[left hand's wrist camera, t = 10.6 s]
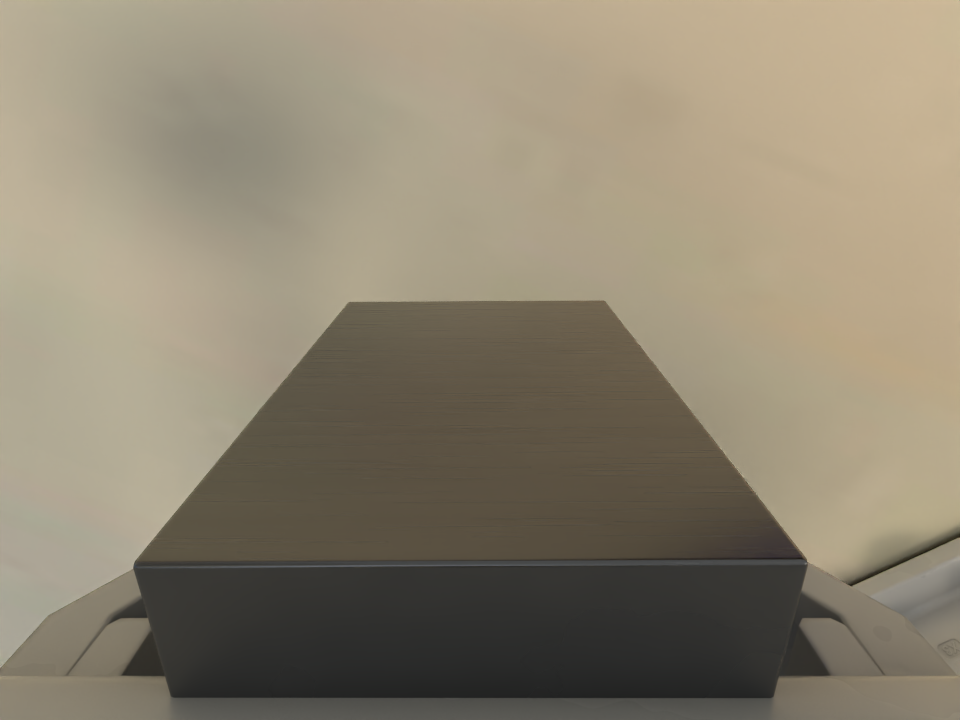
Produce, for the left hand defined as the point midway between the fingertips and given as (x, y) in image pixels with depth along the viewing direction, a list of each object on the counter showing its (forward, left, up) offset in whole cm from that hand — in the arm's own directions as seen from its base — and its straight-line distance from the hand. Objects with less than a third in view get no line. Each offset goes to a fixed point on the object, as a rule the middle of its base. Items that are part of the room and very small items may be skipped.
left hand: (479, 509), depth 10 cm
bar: (+6, +6, -3) cm, 8 cm away
